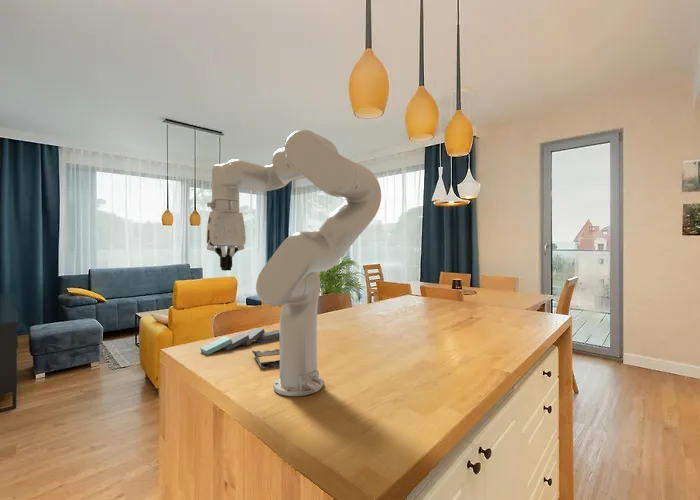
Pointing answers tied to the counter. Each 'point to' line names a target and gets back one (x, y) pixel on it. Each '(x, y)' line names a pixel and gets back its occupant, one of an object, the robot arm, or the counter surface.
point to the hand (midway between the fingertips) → (226, 270)
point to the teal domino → (216, 345)
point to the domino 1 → (236, 341)
